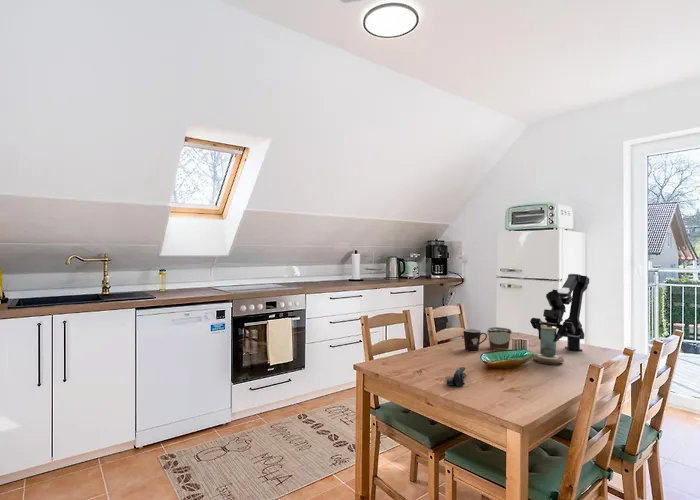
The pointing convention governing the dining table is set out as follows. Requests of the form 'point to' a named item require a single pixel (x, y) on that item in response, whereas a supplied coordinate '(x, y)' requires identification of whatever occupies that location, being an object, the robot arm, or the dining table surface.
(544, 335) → the tea tin
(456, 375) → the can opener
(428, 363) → the dining table surface
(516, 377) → the dining table surface
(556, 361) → the turntable
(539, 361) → the turntable base
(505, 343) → the food container
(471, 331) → the coffee mug
